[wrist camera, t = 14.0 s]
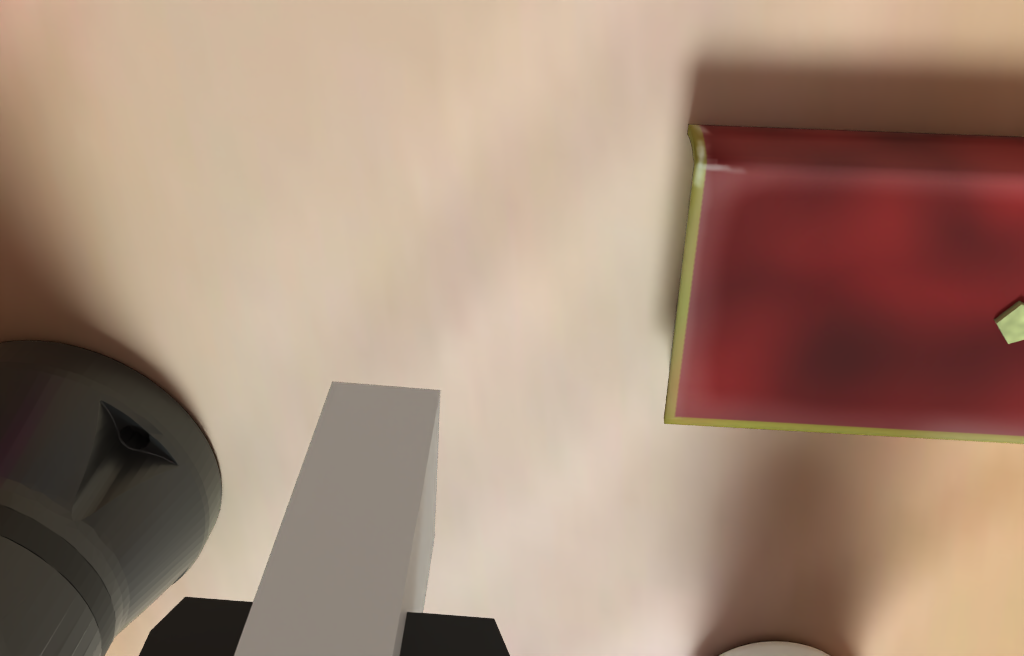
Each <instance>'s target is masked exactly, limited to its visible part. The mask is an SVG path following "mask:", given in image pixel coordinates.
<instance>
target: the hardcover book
mask: <svg viewBox="0 0 1024 656" xmlns="http://www.w3.org/2000/svg"><path fill="white" fill-rule="evenodd" d="M687 134H688V136H689V138H690V141H691V145H692V151H693V158H694V168H693V177H692V185H691V194H690V202H689V210H688V219H687V227H686V235H685V244H684V252H683V260H682V269H681V277H680V286H679V294H678V302H677V311H676V319H675V327H674V336H673V344H672V352H671V361H670V369H669V379H668V388H667V396H666V404H665V413H664V424H680V425H697V426H715V427H733V428H750V429H768V430H786V431H804V432H821V433H839V434H857V435H874V436H892V437H910V438H927V439H945V440H963V441H980V442H998V443H1016V444H1024V137H1009V136H982V135H955V134H929V133H902V132H875V131H848V130H822V129H795V128H768V127H742V126H715V125H688V133H687Z"/></svg>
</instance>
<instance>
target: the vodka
mask: <svg viewBox="0 0 1024 656" xmlns="http://www.w3.org/2000/svg"><path fill="white" fill-rule="evenodd" d="M719 656H830V655H828V654H827V653H825V652H823V651H821V650H818V649H816V648H813V647H810V646H807V645H803V644H798V643H792V642H781V641H769V642H758V643H753V644H748V645H744V646H740V647H737V648H734V649H731V650H729V651H727V652H725V653H723V654H721V655H719Z"/></svg>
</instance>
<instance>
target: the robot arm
mask: <svg viewBox="0 0 1024 656" xmlns="http://www.w3.org/2000/svg"><path fill="white" fill-rule="evenodd" d="M439 412H440V390H432V389H419V388H407V387H394V386H382V385H369V384H357V383H344V382H332V384H331V387H330V389H329V392H328V395H327V398H326V401H325V403H324V406H323V409H322V412H321V415H320V417H319V420H318V423H317V426H316V428H315V431H314V434H313V437H312V440H311V442H310V445H309V448H308V451H307V454H306V456H305V459H304V462H303V465H302V467H301V470H300V473H299V476H298V479H297V481H296V484H295V487H294V490H293V493H292V495H291V498H290V501H289V504H288V506H287V509H286V512H285V515H284V518H283V520H282V523H281V526H280V529H279V532H278V534H277V537H276V540H275V543H274V545H273V548H272V551H271V554H270V557H269V559H268V562H267V565H266V568H265V571H264V573H263V576H262V579H261V582H260V584H259V587H258V590H257V593H256V596H255V598H254V601H253V602H244V601H231V600H219V599H206V598H193V597H185V598H184V599H183V600H182V601H181V602H180V603H179V604H177V605H176V606H175V607H174V608H173V609H172V610H171V611H170V612H169V613H168V614H167V615H166V616H165V617H164V618H163V619H162V620H161V621H160V622H159V623H158V624H157V625H156V626H155V627H154V628H153V629H152V630H151V631H150V633H149V635H148V637H147V640H146V642H145V644H144V646H143V648H142V650H141V652H140V655H139V656H510V655H509V652H508V650H507V648H506V645H505V643H504V641H503V638H502V636H501V634H500V631H499V629H498V627H497V624H496V622H495V620H494V619H492V618H479V617H466V616H454V615H441V614H428V613H423V609H424V602H425V596H426V589H427V583H428V576H429V570H430V563H431V557H432V550H433V544H434V537H435V513H436V488H437V463H438V437H439ZM221 499H222V485H221V477H220V472H219V468H218V465H217V462H216V459H215V456H214V454H213V451H212V449H211V447H210V445H209V443H208V441H207V440H206V438H205V436H204V435H203V433H202V432H201V430H200V429H199V427H198V426H197V424H196V423H195V422H194V421H193V419H192V418H191V417H190V416H189V414H188V413H187V412H186V411H185V410H184V409H183V408H182V407H181V406H180V405H179V404H178V403H177V402H176V401H175V400H174V399H173V398H172V397H171V396H170V395H168V394H167V393H166V392H165V391H164V390H162V389H161V388H160V387H158V386H157V385H156V384H155V383H153V382H152V381H150V380H149V379H147V378H146V377H144V376H143V375H141V374H139V373H138V372H136V371H135V370H133V369H131V368H129V367H127V366H125V365H123V364H121V363H119V362H117V361H115V360H113V359H111V358H108V357H106V356H103V355H101V354H98V353H95V352H92V351H89V350H86V349H82V348H79V347H75V346H71V345H66V344H61V343H54V342H46V341H29V340H28V341H11V342H3V343H0V656H105V654H106V652H107V650H108V648H109V647H110V645H111V643H112V641H113V640H114V638H115V637H116V636H117V635H118V634H119V633H120V632H121V631H122V630H123V629H124V628H125V627H127V626H128V625H129V624H130V623H131V622H132V621H133V620H134V619H136V618H137V617H138V616H139V615H140V614H141V613H142V612H143V611H144V610H146V609H147V608H148V607H149V606H150V605H151V604H152V603H153V602H154V601H155V600H156V599H157V598H158V597H159V596H160V595H162V594H163V593H164V592H165V591H166V590H167V589H168V588H169V587H170V586H171V585H172V584H174V583H175V582H176V581H178V580H179V579H180V578H181V577H182V576H183V575H184V574H185V573H186V572H187V571H188V570H189V569H190V567H191V566H192V565H193V564H194V562H195V561H196V559H197V558H198V556H199V555H200V553H201V551H202V549H203V547H204V545H205V543H206V541H207V539H208V537H209V535H210V533H211V531H212V529H213V527H214V525H215V523H216V520H217V518H218V515H219V511H220V507H221Z"/></svg>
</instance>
